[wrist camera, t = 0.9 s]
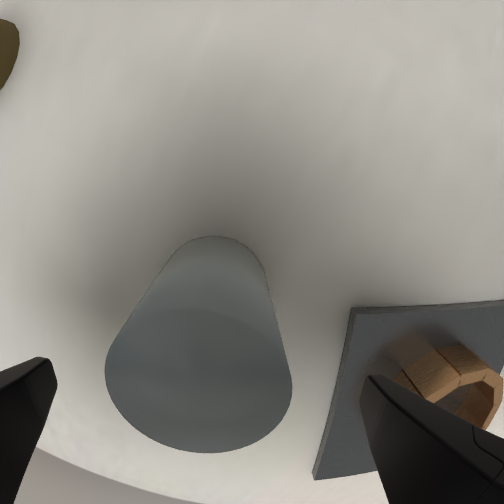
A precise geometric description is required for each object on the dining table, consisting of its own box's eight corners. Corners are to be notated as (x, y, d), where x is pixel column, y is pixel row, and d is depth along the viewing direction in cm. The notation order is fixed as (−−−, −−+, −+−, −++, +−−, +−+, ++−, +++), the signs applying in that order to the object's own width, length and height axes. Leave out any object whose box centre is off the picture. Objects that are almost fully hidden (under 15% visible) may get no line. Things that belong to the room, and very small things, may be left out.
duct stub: (269, 237, 15) (302, 311, 7) (262, 333, 16) (282, 453, 8) (161, 234, 15) (91, 302, 7) (165, 330, 16) (122, 443, 8)
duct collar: (518, 298, 17) (552, 319, 13) (458, 441, 20) (477, 467, 17) (351, 307, 16) (378, 344, 12) (312, 472, 20) (321, 511, 16)
